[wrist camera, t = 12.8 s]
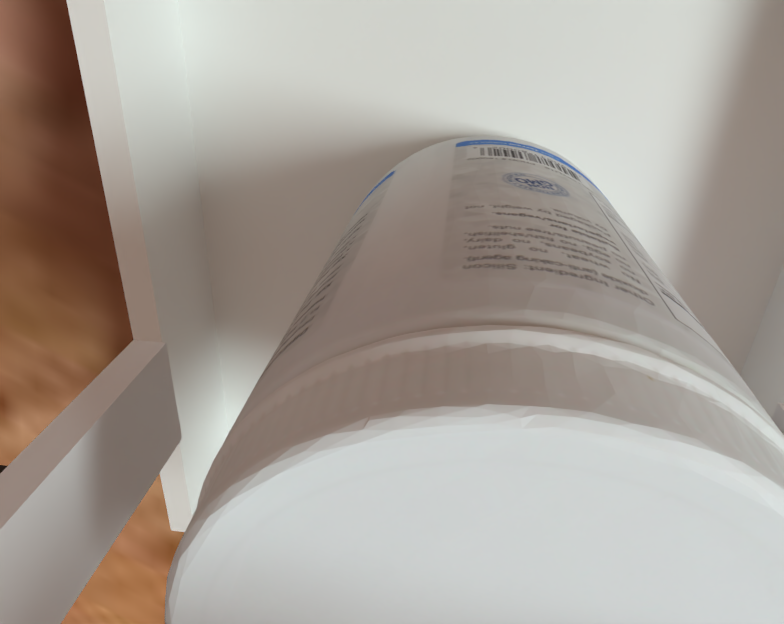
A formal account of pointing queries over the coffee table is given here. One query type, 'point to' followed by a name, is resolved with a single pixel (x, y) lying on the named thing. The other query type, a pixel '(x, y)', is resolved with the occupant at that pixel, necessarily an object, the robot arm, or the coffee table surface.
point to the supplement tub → (490, 427)
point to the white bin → (406, 137)
